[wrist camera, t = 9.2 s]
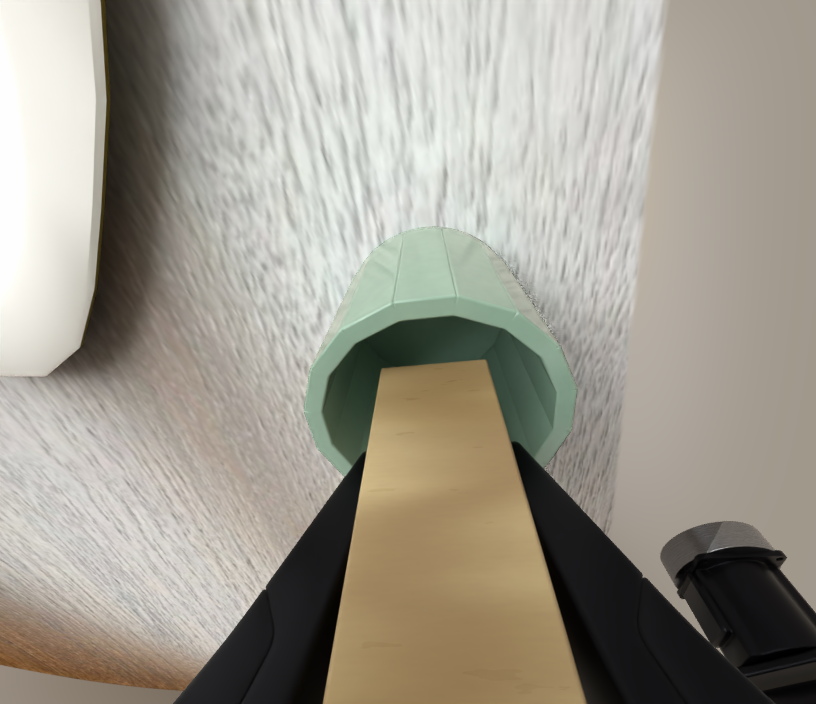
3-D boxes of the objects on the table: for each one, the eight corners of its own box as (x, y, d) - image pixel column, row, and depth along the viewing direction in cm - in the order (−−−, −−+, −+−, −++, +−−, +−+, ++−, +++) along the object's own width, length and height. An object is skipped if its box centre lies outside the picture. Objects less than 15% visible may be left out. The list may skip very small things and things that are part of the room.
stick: (486, 357, 9) (673, 988, 2) (488, 436, 11) (607, 974, 4) (380, 367, 9) (273, 960, 3) (395, 442, 11) (352, 956, 4)
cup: (516, 215, 13) (594, 280, 7) (511, 370, 17) (562, 499, 11) (333, 238, 14) (267, 315, 8) (366, 382, 17) (338, 511, 12)
